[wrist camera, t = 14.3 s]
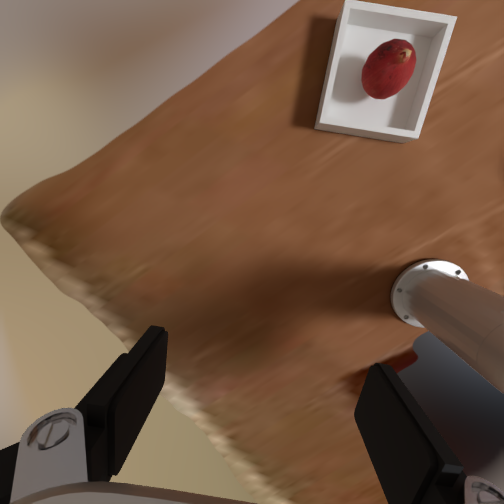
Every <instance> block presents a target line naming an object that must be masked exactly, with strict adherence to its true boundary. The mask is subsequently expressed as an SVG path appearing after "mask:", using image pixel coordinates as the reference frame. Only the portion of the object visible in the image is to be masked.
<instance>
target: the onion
mask: <svg viewBox="0 0 504 504" xmlns="http://www.w3.org/2000/svg"><path fill="white" fill-rule="evenodd" d="M415 64H416V52H415V50H414V48H413V46H412V44H411V43H409V42H408V41H406V40H403V39H392V40H390V41H387V42H384V43H382V44H381V45H379V46H378V47H377V48H376V49H375V50H374V51H373V52H372V53H371V54H370V55H369V56H368V58H367V60H366V62H365V64H364V66H363V68H362V76H361V81H362V86H363V89H364V90H365V92H366V93H367V94H368V95H369V96H371V97H372V98H374V99H386V98H389V97H391V96H393V95H395V94H397V93H398V92H399V91H400V90H401V89H403V88H404V87H405V85H406V84H407V83H408V81H409V80H410V78H411V76H412V74H413V73H414V69H415Z"/></svg>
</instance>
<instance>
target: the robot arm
mask: <svg viewBox="0 0 504 504" xmlns="http://www.w3.org/2000/svg"><path fill="white" fill-rule="evenodd" d="M391 304H392V308H393V309H394V311H395V313H396V314H397V315H398V316H399V317H400V318H401V319H402V320H403V321H405V322H406V323H408V324H410V325H413V326H416V327H425V328H426V329H427V330H429V331H430V332H431V333H432V334H433V335H434V336H436V337H437V338H438V339H439V340H440V341H441V342H443V343H444V344H445V345H446V346H447V347H448V348H450V349H451V350H452V351H453V352H454V353H455V354H457V355H458V356H459V357H460V358H461V359H462V360H464V361H465V362H466V363H467V364H468V365H469V366H471V367H472V368H473V369H474V370H475V371H476V372H478V373H479V374H480V375H481V376H482V377H484V378H485V379H486V380H487V381H488V382H490V383H491V384H492V385H493V386H494V387H495V388H497V389H498V390H499V391H501V392H502V393H504V296H502V295H499V294H497V293H495V292H493V291H491V290H488V289H486V288H484V287H482V286H479V285H477V284H475V283H473V282H470V281H469V279H468V277H467V275H466V273H465V272H464V271H463V270H462V269H461V268H460V267H459V266H457V265H455V264H453V263H451V262H449V261H446V260H441V259H428V260H423V261H420V262H417V263H415V264H413V265H411V266H409V267H408V268H407V269H405V270H404V271H403V272H402V273H401V274H400V275H399V276H398V278H397V279H396V281H395V282H394V285H393V287H392V290H391ZM167 342H168V332H167V331H165V329H164V327H158V326H150V327H149V328H148V330H147V331H146V332H145V333H144V334H143V336H142V337H141V338H140V339H139V340H138V342H137V343H136V344H135V345H134V347H133V348H132V349H131V350H130V351H129V353H128V354H127V353H123V354H121V355H120V356H119V357H118V358H117V360H116V361H115V362H114V363H113V364H112V365H111V367H110V368H109V369H108V370H107V371H106V372H105V373H104V375H103V376H102V377H101V378H100V379H99V380H98V381H97V383H96V384H95V385H94V386H93V387H92V388H91V390H90V391H89V392H88V393H87V394H86V396H84V398H83V399H82V400H81V401H80V402H79V403H78V405H77V406H76V407H75V408H74V409H73V408H62V409H58V410H54V411H52V412H50V413H48V414H45V415H44V416H42V417H40V418H39V419H37V420H36V421H35V422H34V423H33V424H31V426H29V427H28V428H27V430H26V431H25V433H24V434H23V435H22V437H21V440H20V442H18V443H16V444H13V445H11V446H9V447H7V448H5V449H2V450H0V504H256V503H249V502H244V501H238V500H232V499H226V498H220V497H213V496H207V495H201V494H195V493H188V492H183V491H177V490H170V489H163V488H156V487H149V486H142V485H134V484H128V483H116V482H109V481H110V479H111V477H112V475H115V476H116V475H117V474H118V473H119V471H120V470H121V468H122V466H123V464H124V462H125V460H126V458H127V456H128V454H129V452H130V450H131V448H132V446H133V444H134V442H135V440H136V438H137V436H138V434H139V432H140V431H141V429H142V427H143V425H144V423H145V421H146V419H147V417H148V415H149V413H150V411H151V409H152V407H153V405H154V403H155V401H156V399H157V397H158V395H159V393H160V391H161V389H162V387H163V385H164V381H165V371H166V356H167ZM354 417H355V421H356V423H357V426H358V428H359V431H360V433H361V436H362V438H363V441H364V443H365V446H366V449H367V451H368V454H369V456H370V459H371V461H372V464H373V466H374V469H375V471H376V474H377V476H378V479H379V481H380V484H381V486H382V489H383V491H384V494H385V496H386V499H387V501H388V504H504V492H503V491H502V490H500V489H499V488H498V487H496V486H495V485H494V484H492V483H490V482H488V481H487V480H485V479H482V478H480V477H477V476H469V477H467V476H466V475H465V473H464V472H463V470H462V469H463V468H464V466H463V465H462V464H461V462H460V461H459V459H458V458H457V457H456V455H455V454H454V453H453V451H452V450H451V448H450V447H449V446H448V444H447V443H446V441H445V440H444V439H443V437H442V436H441V435H440V434H439V432H438V430H437V429H436V428H435V426H434V425H433V423H432V422H431V421H430V419H429V418H428V417H427V415H426V414H425V412H424V411H423V410H422V408H421V407H420V405H419V404H418V403H417V401H416V400H415V399H414V397H413V396H412V394H411V393H410V392H409V390H408V389H407V387H406V386H405V385H404V383H403V382H402V381H401V379H400V378H399V376H398V375H397V374H396V372H395V371H394V369H393V368H392V367H391V366H390V365H386V364H380V363H375V364H374V366H371V367H370V369H369V371H368V374H367V377H366V380H365V383H364V386H363V388H362V391H361V394H360V397H359V400H358V403H357V405H356V408H355V412H354Z"/></svg>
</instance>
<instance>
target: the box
mask: <svg viewBox="0 0 504 504" xmlns="http://www.w3.org/2000/svg"><path fill="white" fill-rule="evenodd" d="M456 19H457V17H456V16H450V15H443V14H437V13H431V12H425V11H418V10H412V9H406V8H400V7H393V6H387V5H381V4H374V3H368V2H362V1H356V0H345V2H344V4H343V6H342V9H341V11H340V13H339V16H338V18H337V21H336V26H335V31H334V36H333V41H332V45H331V50H330V55H329V60H328V65H327V69H326V74H325V79H324V84H323V89H322V94H321V98H320V103H319V108H318V113H317V118H316V122H315V127H314V129H317V130H323V131H329V132H335V133H342V134H348V135H354V136H360V137H366V138H372V139H379V140H385V141H391V142H397V143H406V142H409V141H412V140H415V139H418V138H419V135H420V131H421V128H422V125H423V122H424V119H425V116H426V113H427V110H428V106H429V103H430V100H431V97H432V94H433V91H434V88H435V85H436V81H437V78H438V75H439V72H440V69H441V66H442V63H443V60H444V56H445V53H446V50H447V47H448V44H449V41H450V38H451V34H452V31H453V28H454V25H455V22H456ZM392 39H403V40H406V41H408V42H409V43H411V44H412V46H413V48H414V50H415V52H416V64H415V69H414V73H413V74H412V76H411V78H410V80H409V81H408V83H407V84H406V85H405V87H404V88H403V89H401V90H400V91H399V92H398V93H397V94H395V95H393V96H391V97H389V98H386V99H374V98H372V97H371V96H369V95H368V94H367V93H366V92H365V90H364V89H363V86H362V81H361V76H362V68H363V66H364V64H365V62H366V60H367V58H368V56H369V55H370V54H371V53H372V52H373V51H374V50H375V49H376V48H377V47H378V46H379V45H381V44H382V43H384V42H387V41H390V40H392Z"/></svg>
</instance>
